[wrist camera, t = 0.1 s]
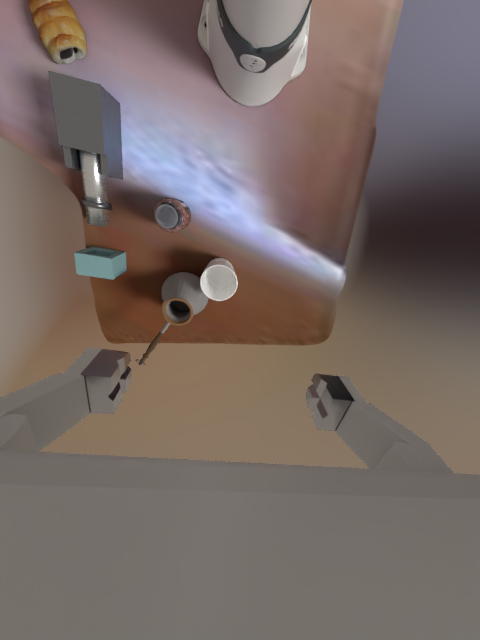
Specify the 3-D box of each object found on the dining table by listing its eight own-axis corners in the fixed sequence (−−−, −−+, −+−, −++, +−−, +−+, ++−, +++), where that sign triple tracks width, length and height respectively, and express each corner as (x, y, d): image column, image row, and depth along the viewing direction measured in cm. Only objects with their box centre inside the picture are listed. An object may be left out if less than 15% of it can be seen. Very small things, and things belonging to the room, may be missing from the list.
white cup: (233, 287, 58) (234, 302, 49) (203, 284, 57) (198, 298, 49) (237, 257, 55) (240, 267, 46) (205, 252, 54) (201, 262, 45)
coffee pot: (179, 259, 54) (165, 277, 41) (218, 287, 58) (216, 312, 45) (137, 321, 61) (112, 353, 48) (173, 342, 65) (160, 378, 52)
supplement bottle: (187, 233, 52) (178, 240, 42) (161, 222, 50) (145, 227, 40) (194, 205, 49) (187, 206, 39) (167, 194, 48) (152, 191, 38)
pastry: (20, -13, 34) (-2, -36, 31) (60, -30, 34) (42, -56, 30) (60, 70, 39) (44, 57, 35) (96, 56, 38) (83, 42, 35)
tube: (80, 105, 40) (61, 92, 35) (111, 113, 40) (96, 101, 36) (91, 220, 48) (77, 222, 43) (117, 225, 49) (106, 227, 44)
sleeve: (77, 92, 40) (48, 70, 33) (119, 103, 41) (99, 84, 34) (85, 171, 45) (61, 166, 39) (122, 179, 46) (106, 175, 40)
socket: (93, 246, 52) (73, 252, 45) (125, 251, 53) (111, 258, 46) (95, 265, 54) (76, 274, 47) (126, 270, 55) (113, 279, 48)
